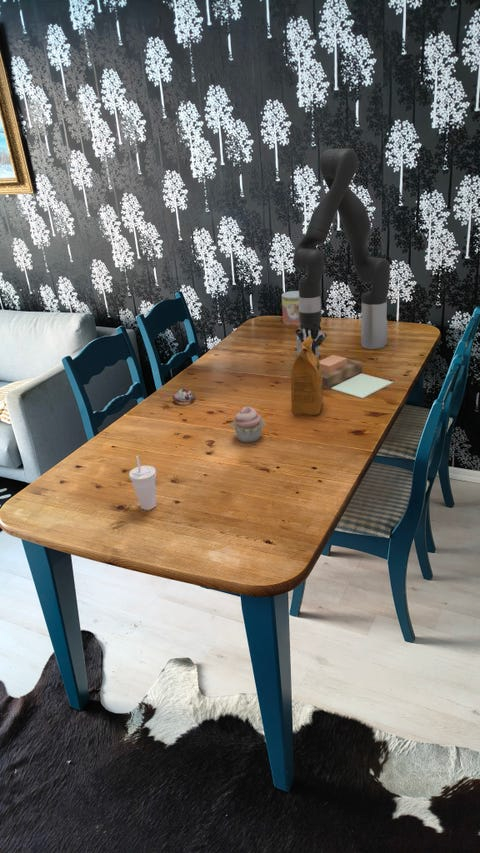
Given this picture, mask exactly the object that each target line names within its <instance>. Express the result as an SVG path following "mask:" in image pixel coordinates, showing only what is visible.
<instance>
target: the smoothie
mask: <svg viewBox="0 0 480 853" xmlns="http://www.w3.org/2000/svg"><path fill="white" fill-rule="evenodd" d="M135 458H136V464H137V466H136V467H134V468H132V469H131V470H130V471H129V473H128V474H129V475H128V476H129V480H130V481H131V483H132V486H133V488H134V492H135V496H136V498H137V500H138V503H139V506H140V509H141V508H142V509H145V510H147V509H152V508H154V507H155V506H156V507H157V490H156V487H157V486H156V476H157V471H156V470H157V469H156V468H155V467H154V466H152V465H141V464H140V463H141V462H140V459H139V455H136V456H135ZM156 507H155V508H156ZM155 508H154V509H155ZM142 509H141V510H142ZM145 510H144V511H145ZM152 510H153V509H152Z"/></svg>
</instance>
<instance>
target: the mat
mask: <svg viewBox="0 0 480 853" xmlns="http://www.w3.org/2000/svg"><path fill="white" fill-rule="evenodd" d="M393 382H394V381H392V380H391V381H390V380H387V379H384V378H379V377H376V376H373V375H368V374H365V373H363V372H362V373H361V374H359V375H357V376H355V377H353V378H351V379H348V380H346V381H344V382H342V383H340V384H338V385H336V386H334V387H332V388H330V390H333V391H336V392H339V393H342V394H346V395H349V396H352V397H355V398H358V399H361V400H362V399H366V398H367V397H369V396H371V395H373V394H374V393H377V392H379V391H380V390H382V389H384V388H387V387H388V386H391V385H392V384H393Z"/></svg>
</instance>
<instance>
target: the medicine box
mask: <svg viewBox="0 0 480 853" xmlns="http://www.w3.org/2000/svg"><path fill="white" fill-rule="evenodd" d="M303 339H304V338H303ZM296 347H297V348H296V351H297V357H298V356H299V354H300V353H301V351H302V347H301V341H300V339H299V337H298V336H297V335H296ZM319 355H320V353H319V346H318V347H316V355H315V356H316V357H317V359H319V357H320V356H319Z"/></svg>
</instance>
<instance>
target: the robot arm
mask: <svg viewBox="0 0 480 853" xmlns="http://www.w3.org/2000/svg"><path fill="white" fill-rule="evenodd" d="M358 164H359V159H358V155H357V153H356V151H355V150H354V149H351V148H329V149H326V150H324V151H323V152H322V153H321V155H320V158H319V168H320V173H321V175H322V178H323V180H324V182H325V185H326V186H327V189H328V192H327V193H326V195H325V196H324V197H323V199H322V200H321V201H320V202H319V203H318V204H317V206H316V207H315V209H314V210H313V212H312V214H311V217H310V219H309V223H308V226H307V228H306V229H307V230H306V232H305V234H304V235H303V237H302V238H301V240H300V242H299V244H298V245H297V247H296V248H295V251H294V253H293V257H292V262H293V266H294V267H295V268H296V269H297V270H300V271H306V272H307V274H306V277H302V278H300V279H299V282H298V291H299V322H300V323H301V324H299V327H298V328H296V329H295V331H294V332H295V334H296V337H297V336H298V337H299V339H300V341H301V343H303V342H304V341H305V340H306V339H307V337H311V338H312V339H313V342H312V344H311V345H310V347H311V349H312V352H313V354H314V355H316V347H318V348H319V346H321V345H322V344H323V342H324V340H325V339H326V337H327V333H324V332H323V331H322V327H321V322H322V299H321V280H322V276H323V272H324V268H325V261H326V260H325V256H324V253H322V251H321V250H319V249H315V248H316V247H317V246H319V245H323V244H325V243H326V241H327V239H328V236H329V233H330V230H331V227H332V223H333V220H334V219H335V216H336V214H337V213H338V216H339V218H340V221H341V225H342V228H343V231H344V233H345V236H346V238H347V241H348V246H349V248H350V250H351V256H352V259H353V263H354V268H355V273H356V276H357V278H358V279H359V281H361V282H363V283H365V284H366V283H367V284H371V285H372V286H371V290H370V291H366V292H364V293H362V294H361V307H360V308H361V311H360V313H361V326H360V327H361V333H360V334H361V337H360V338H361V344H360V346H361V347H362V348H364V349H368V350H379V349H383V348H385V347H386V345H387V344H388V321H389V320H388V319H387V312H388V311H387V308H388V307H387V304H388V296H389V293H390V291H389V290H390V279H391V267H390V266H391V264H390V262H389V260H387V259H386V258H382V257H372V256H371V254H370V252H369V248H368V240H369V236H370V232H371V229H372V224H371V219H370V216H369V213H368V210H367V208H366V206H365V204H364V203H363V201H362V200H361V199H360V198H359V197H358V196H357V195H356V194H355V192H354V191H353V190H352V189H351V188H350V185H351V183H352V181H353V179H354V176H355V175H356V171H357V168H358ZM303 338H304V339H303Z"/></svg>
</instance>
